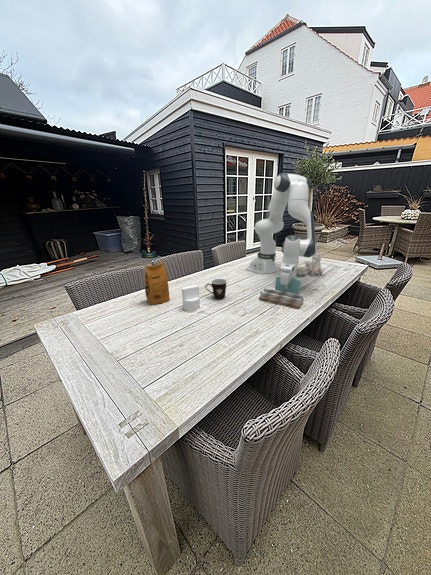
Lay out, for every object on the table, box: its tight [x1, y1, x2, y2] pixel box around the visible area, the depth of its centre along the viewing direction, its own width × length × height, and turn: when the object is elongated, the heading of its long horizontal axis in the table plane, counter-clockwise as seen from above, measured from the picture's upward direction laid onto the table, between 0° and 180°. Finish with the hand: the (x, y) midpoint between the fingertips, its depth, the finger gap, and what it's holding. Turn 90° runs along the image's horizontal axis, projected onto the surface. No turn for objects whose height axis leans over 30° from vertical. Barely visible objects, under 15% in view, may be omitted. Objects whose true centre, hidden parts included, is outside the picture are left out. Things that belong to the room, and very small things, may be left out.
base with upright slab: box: [181, 284, 201, 312], centre depth 120 cm, size 9×9×12 cm
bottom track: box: [258, 287, 305, 310], centre depth 126 cm, size 22×10×4 cm, turn 58°
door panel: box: [274, 275, 302, 295], centre depth 134 cm, size 14×3×10 cm, turn 58°
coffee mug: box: [204, 278, 228, 301], centre depth 132 cm, size 12×9×10 cm
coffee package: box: [144, 262, 171, 306], centre depth 127 cm, size 10×12×22 cm
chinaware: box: [296, 252, 324, 277], centre depth 166 cm, size 28×17×17 cm, turn 143°
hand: (287, 287), depth 135 cm, fingers open, 4 cm apart
